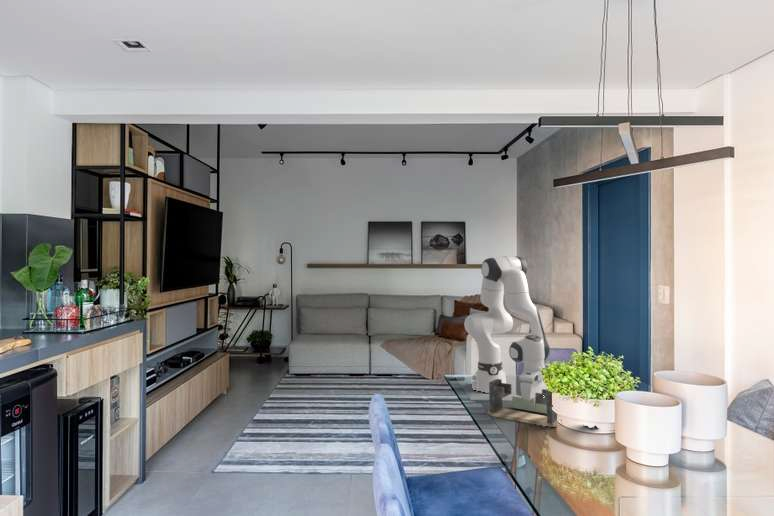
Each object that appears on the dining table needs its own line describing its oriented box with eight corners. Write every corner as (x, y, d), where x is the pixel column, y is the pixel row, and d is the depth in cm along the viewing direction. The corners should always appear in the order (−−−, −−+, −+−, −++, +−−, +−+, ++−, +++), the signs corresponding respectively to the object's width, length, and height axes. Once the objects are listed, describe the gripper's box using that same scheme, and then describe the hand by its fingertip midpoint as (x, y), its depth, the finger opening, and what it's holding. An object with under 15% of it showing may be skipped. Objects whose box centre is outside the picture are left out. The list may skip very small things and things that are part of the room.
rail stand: (487, 415, 212) (486, 382, 212) (496, 410, 218) (495, 378, 218) (554, 428, 193) (553, 392, 193) (562, 422, 199) (561, 387, 199)
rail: (512, 407, 220) (512, 396, 220) (515, 406, 222) (515, 394, 222) (557, 415, 207) (556, 403, 207) (559, 413, 210) (559, 402, 210)
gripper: (537, 368, 225) (538, 398, 225) (517, 377, 209) (518, 410, 209) (551, 369, 221) (551, 400, 221) (531, 379, 205) (532, 412, 205)
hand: (535, 405), depth 215 cm, fingers closed on rail, 3 cm apart
